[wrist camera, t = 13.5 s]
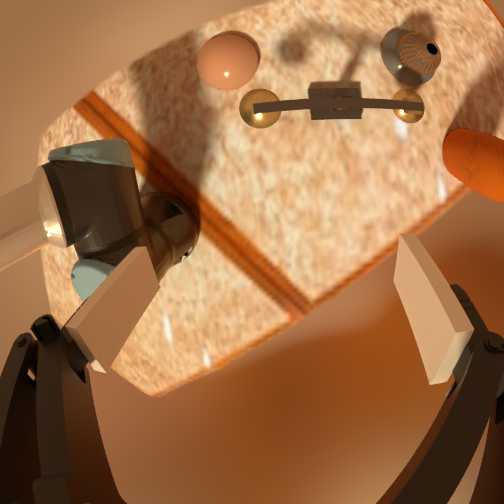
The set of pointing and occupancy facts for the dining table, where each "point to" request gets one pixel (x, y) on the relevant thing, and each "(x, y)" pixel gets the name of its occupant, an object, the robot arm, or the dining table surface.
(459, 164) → the wine bottle
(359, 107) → the balance
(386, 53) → the dish
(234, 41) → the dish
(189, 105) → the dining table surface
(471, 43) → the dining table surface
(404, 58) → the vase
